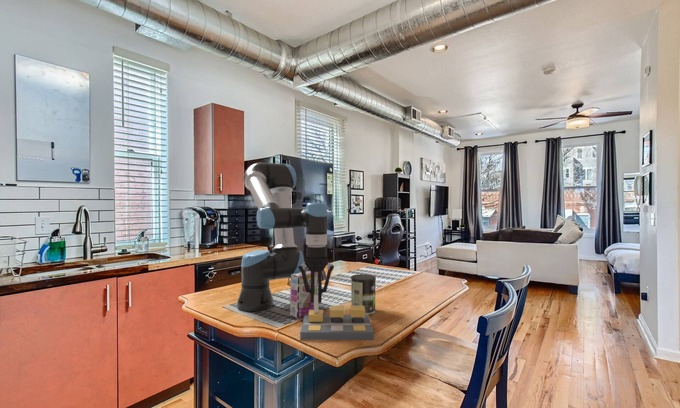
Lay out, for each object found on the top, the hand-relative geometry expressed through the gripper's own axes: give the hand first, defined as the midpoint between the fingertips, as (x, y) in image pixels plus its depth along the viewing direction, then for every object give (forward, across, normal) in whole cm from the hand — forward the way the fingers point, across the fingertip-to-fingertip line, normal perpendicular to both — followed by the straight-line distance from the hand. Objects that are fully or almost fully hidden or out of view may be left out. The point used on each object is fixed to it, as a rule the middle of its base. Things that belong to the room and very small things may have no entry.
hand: (316, 311), depth 114 cm
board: (+6, +7, -2) cm, 10 cm away
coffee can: (+6, +18, +18) cm, 26 cm away
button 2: (+4, +7, 0) cm, 8 cm away
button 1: (+5, 0, 0) cm, 5 cm away
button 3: (+4, +15, 0) cm, 15 cm away
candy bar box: (+6, -6, +14) cm, 16 cm away
